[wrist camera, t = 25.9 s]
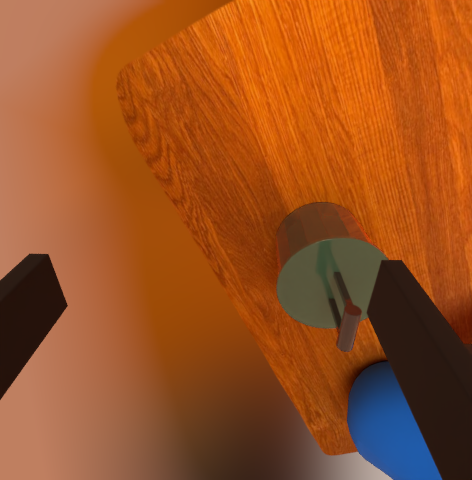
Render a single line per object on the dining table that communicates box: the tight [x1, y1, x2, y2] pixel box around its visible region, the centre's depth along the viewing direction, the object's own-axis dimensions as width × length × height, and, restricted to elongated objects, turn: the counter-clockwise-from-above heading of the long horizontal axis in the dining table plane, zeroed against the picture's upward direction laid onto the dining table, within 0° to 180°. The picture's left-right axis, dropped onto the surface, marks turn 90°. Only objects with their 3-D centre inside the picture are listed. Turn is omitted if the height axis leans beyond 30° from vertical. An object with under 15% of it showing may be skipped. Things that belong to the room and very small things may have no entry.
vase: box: [347, 361, 442, 480], centre depth 49 cm, size 18×18×30 cm
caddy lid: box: [276, 236, 389, 352], centre depth 34 cm, size 14×14×8 cm
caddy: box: [276, 202, 373, 272], centre depth 42 cm, size 12×12×10 cm
